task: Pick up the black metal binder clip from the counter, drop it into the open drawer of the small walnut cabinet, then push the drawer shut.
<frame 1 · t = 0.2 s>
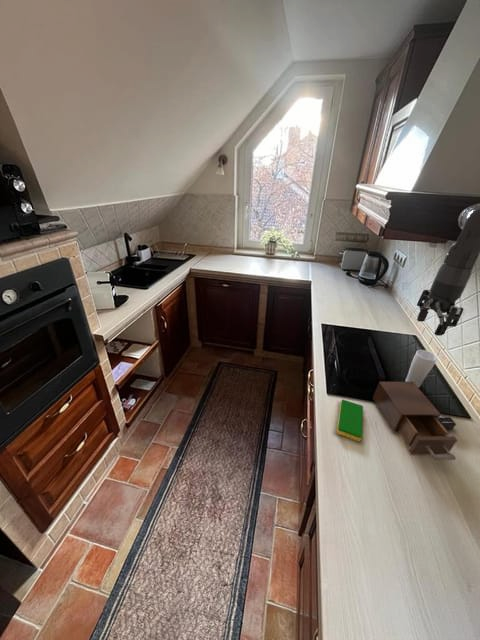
hand: (428, 327, 81), 32 cm above the worktop, tool pointing down, fingers open, 8 cm apart
drawer: (423, 433, 79), point 4 cm above the worktop, slide at 7.0 cm
clip: (442, 426, 86), on the worktop
cabinet: (399, 414, 90), on the worktop
drinking glass: (412, 384, 104), on the worktop
dish sponge: (349, 421, 87), on the worktop
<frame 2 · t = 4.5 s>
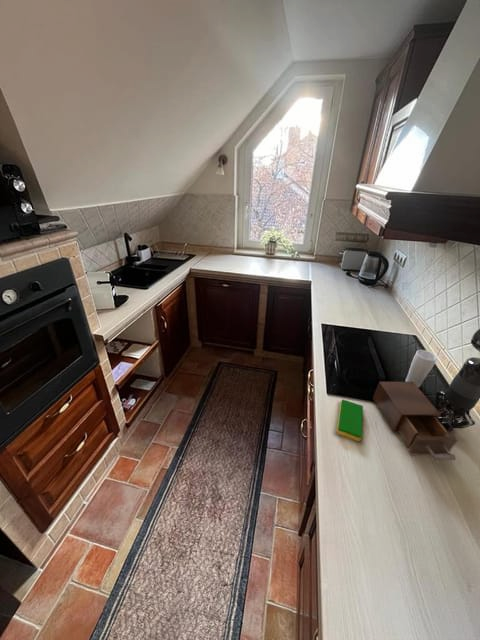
hand: (442, 425, 86), 0 cm above the worktop, tool pointing down, fingers closed on clip, 3 cm apart
clip: (442, 426, 86), on the worktop, touching gripper
everything else where it was.
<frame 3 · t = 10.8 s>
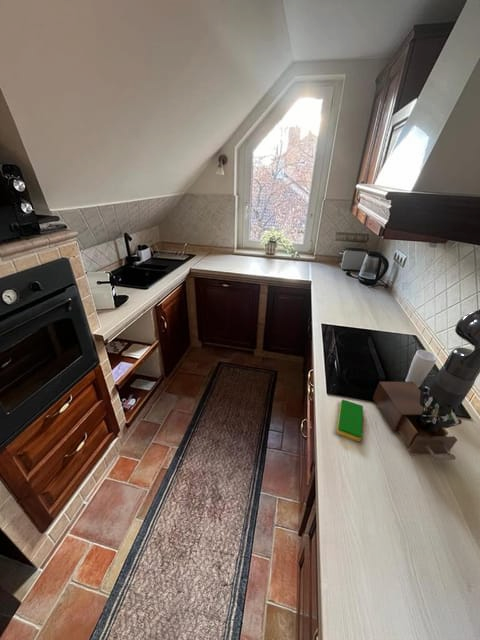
hand: (426, 425, 77), 8 cm above the worktop, tool pointing down, fingers closed on clip, 3 cm apart
clip: (426, 425, 77), point 8 cm above the worktop, touching gripper
everything else where it was.
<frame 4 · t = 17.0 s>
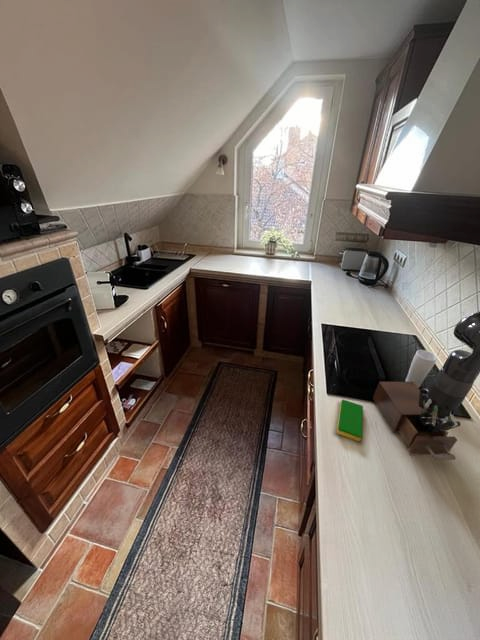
hand: (426, 426, 78), 7 cm above the worktop, tool pointing down, fingers closed on clip, 3 cm apart
clip: (425, 427, 78), point 7 cm above the worktop, touching gripper
everything else where it was.
when the fingers open (9 cm above the worktop, at t = 17.7 s): clip drops 7 cm, resting on drawer.
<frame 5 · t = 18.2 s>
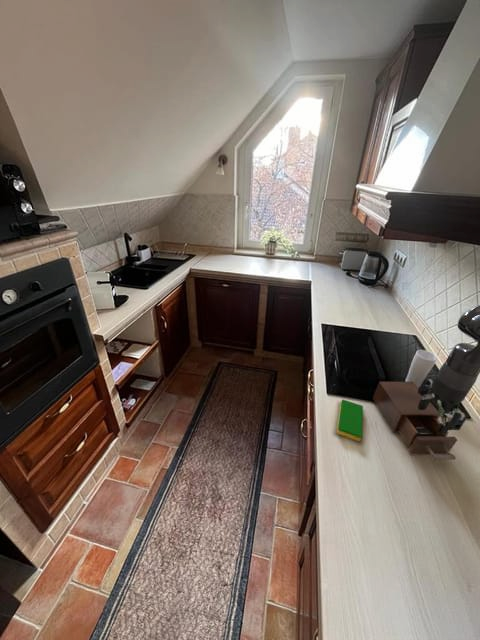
hand: (430, 420, 76), 10 cm above the worktop, tool pointing down, fingers open, 8 cm apart
drawer: (423, 433, 79), point 4 cm above the worktop, slide at 7.0 cm, touching clip
clip: (420, 437, 80), point 2 cm above the worktop, touching drawer
everything else where it was.
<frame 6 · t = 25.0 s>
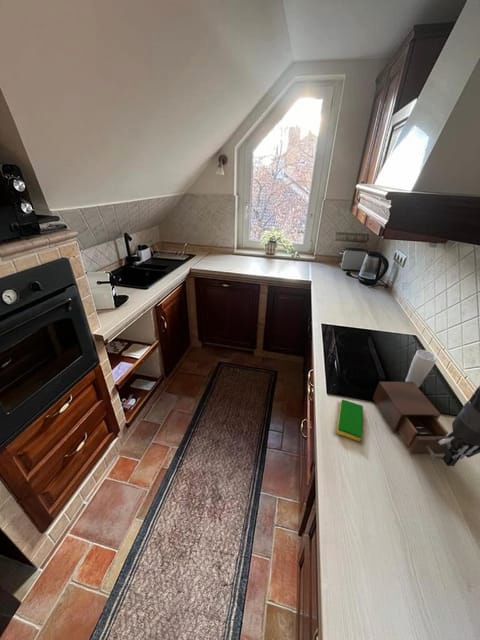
hand: (447, 462, 70), 5 cm above the worktop, tool pointing down, fingers closed
drawer: (423, 433, 79), point 4 cm above the worktop, slide at 6.9 cm, touching clip, gripper
everything else where it was.
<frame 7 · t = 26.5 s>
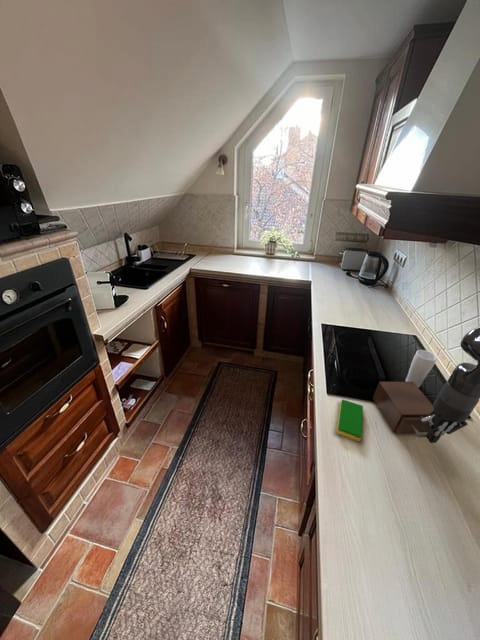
hand: (430, 440, 76), 5 cm above the worktop, tool pointing down, fingers closed
drawer: (410, 414, 85), point 4 cm above the worktop, slide at 0.0 cm, touching cabinet, clip, gripper
clip: (406, 418, 86), point 2 cm above the worktop, touching drawer
everything else where it was.
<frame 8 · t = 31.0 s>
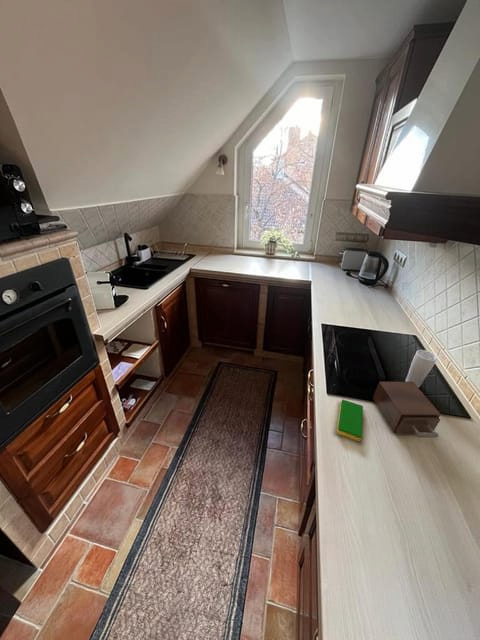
drawer: (410, 414, 85), point 4 cm above the worktop, slide at 0.0 cm, touching cabinet, clip
everything else where it was.
at the end: clip inside the target area in the cabinet (3.5 cm from its centre), point 2.0 cm above the cabinet's base; drawer slide at 0.0 cm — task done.
